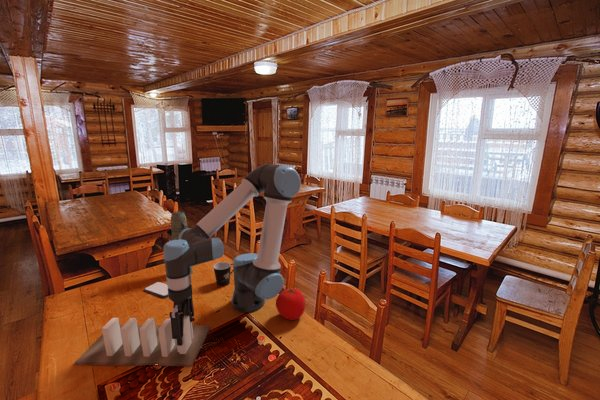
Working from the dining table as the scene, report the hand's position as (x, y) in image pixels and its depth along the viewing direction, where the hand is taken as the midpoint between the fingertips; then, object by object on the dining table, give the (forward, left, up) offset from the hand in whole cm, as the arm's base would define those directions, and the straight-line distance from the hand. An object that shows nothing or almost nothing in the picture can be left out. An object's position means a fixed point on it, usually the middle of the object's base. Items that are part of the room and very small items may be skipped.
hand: (185, 344), depth 107 cm
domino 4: (+6, 0, -3) cm, 7 cm away
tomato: (-36, -22, -4) cm, 42 cm away
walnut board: (+16, -4, -4) cm, 17 cm away
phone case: (+29, -42, -4) cm, 52 cm away
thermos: (+25, -60, -4) cm, 65 cm away
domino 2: (+19, 0, -3) cm, 20 cm away
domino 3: (+13, 0, -3) cm, 13 cm away
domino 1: (+26, 0, -3) cm, 26 cm away
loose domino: (0, 0, -1) cm, 1 cm away
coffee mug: (-1, -50, -4) cm, 50 cm away
